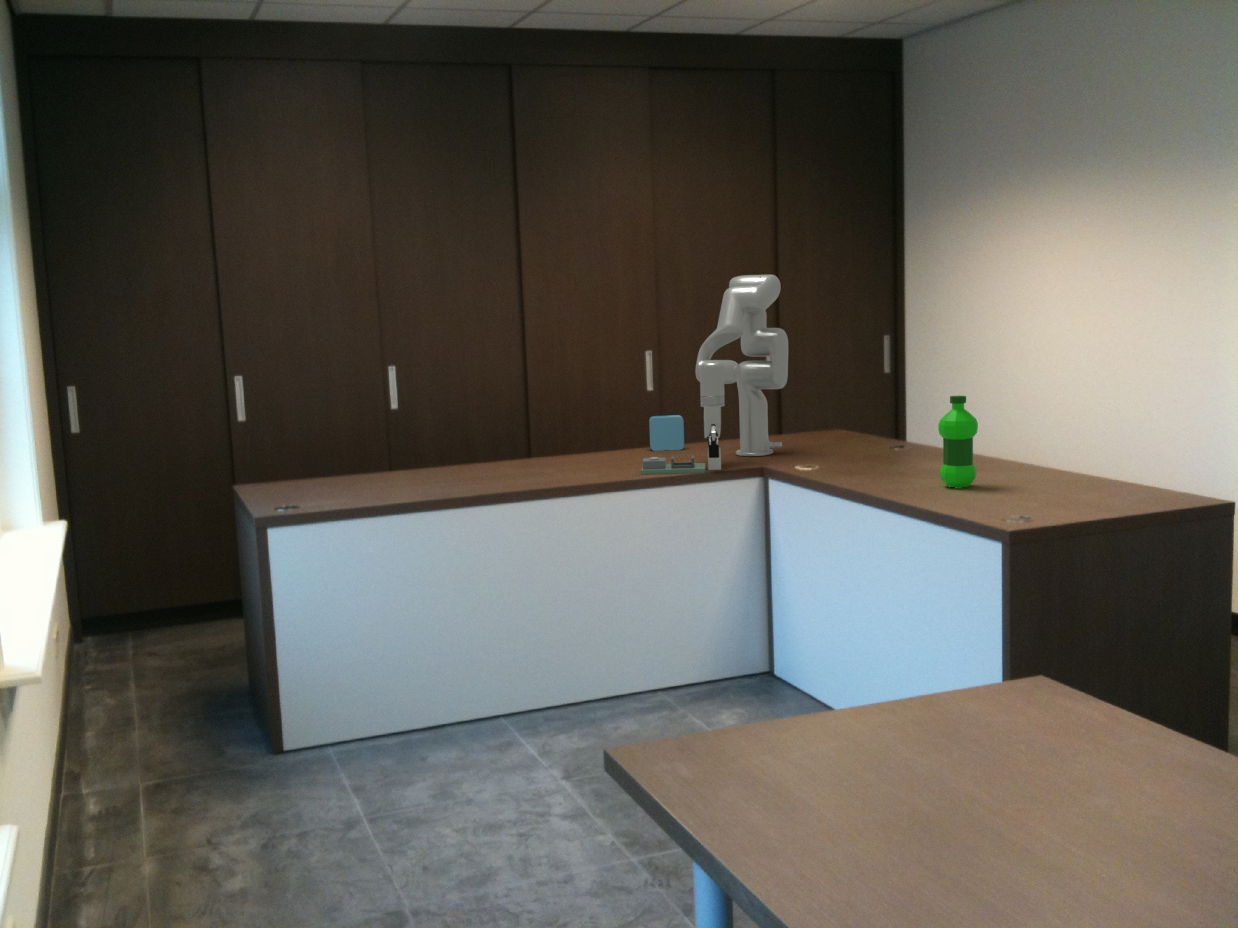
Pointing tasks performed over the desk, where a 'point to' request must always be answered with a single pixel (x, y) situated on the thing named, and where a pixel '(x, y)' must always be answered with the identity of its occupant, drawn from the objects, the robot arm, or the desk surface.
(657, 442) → the blue rounded square block
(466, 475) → the desk surface
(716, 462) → the plug
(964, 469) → the plastic bottle
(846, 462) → the desk surface
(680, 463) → the board
